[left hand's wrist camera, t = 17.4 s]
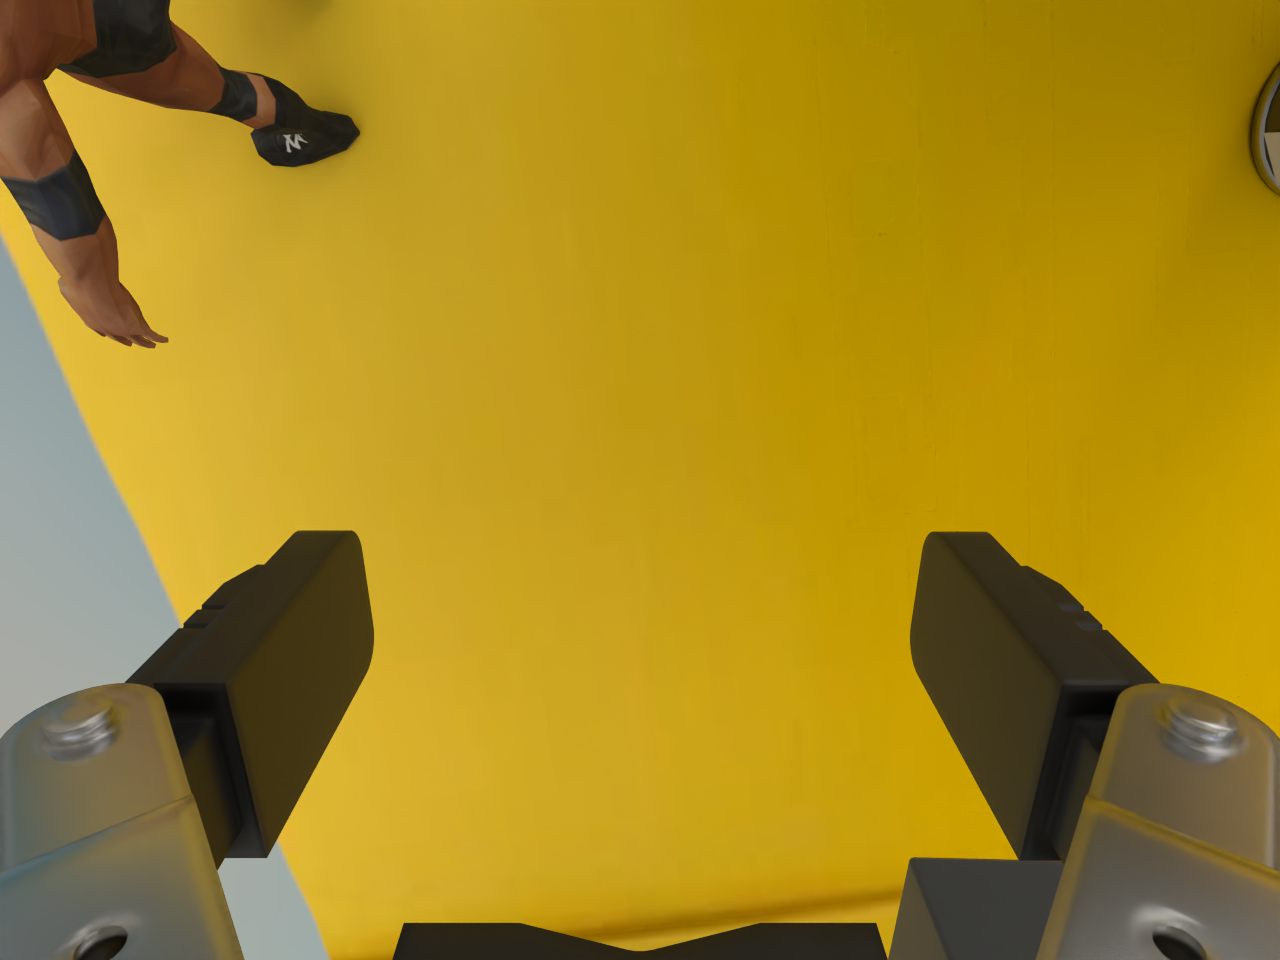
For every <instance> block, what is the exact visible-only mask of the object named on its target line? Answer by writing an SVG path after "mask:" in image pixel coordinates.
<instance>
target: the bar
mask: <svg viewBox="0 0 1280 960" xmlns="http://www.w3.org/2000/svg"><path fill="white" fill-rule="evenodd" d="M1064 866H1065V865H1064V864H1063V862H1062V861H1019V860H1003V859H961V858H918V857H914V858H911V859H910V860H909V865H908V869H907V874H906V879H905V883H904V888H903V893H902V897H901V902H900V907H899V911H898V916H897V921H896V925H895V930H894V935H893V939H892V944H891V949H890V953H889V958H888V960H1036V957H1037V954H1038V950H1039V947H1040V944H1041V941H1042V937H1043V934H1044V931H1045V928H1046V924H1047V921H1048V918H1049V915H1050V911H1051V908H1052V905H1053V901H1054V898H1055V895H1056V892H1057V888H1058V885H1059V882H1060V879H1061V875H1062V872H1063V869H1064Z"/></svg>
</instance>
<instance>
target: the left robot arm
mask: <svg viewBox="0 0 1280 960" xmlns="http://www.w3.org/2000/svg"><path fill="white" fill-rule="evenodd" d="M1251 141H1252V152H1253V157H1254V161H1255V165H1256V167H1257V169H1258V172H1259V174H1260V175H1261V177H1262V179H1263V180H1264V181H1265V183H1266V184H1267V185H1268V186H1269V187H1270V188H1271V189H1272V190H1273V191H1274V192H1276V193H1277V194H1278V195H1280V64H1279V66H1278V67H1277V68H1276V70H1275V71H1274V73H1273V74H1272V76H1271V77H1270V79H1269V81H1268V82H1267V84H1266V86H1265V88H1264V90H1263V92H1262V94H1261V97H1260V99H1259V102H1258V105H1257V108H1256V111H1255V115H1254V120H1253V126H1252V138H1251ZM373 645H374V628H373V620H372V613H371V607H370V600H369V593H368V587H367V580H366V573H365V566H364V560H363V553H362V547H361V543H360V540H359V538H358V536H357V534H356V533H355V532H354V531H297V532H295V533H294V534H293V535H292V536H291V537H290V538H289V539H288V540H287V541H286V542H285V543H284V544H283V546H282V547H281V548H280V549H279V550H278V551H277V552H276V553H275V554H274V555H273V556H272V557H271V558H270V559H269V560H268V561H267V562H266V564H265V565H256V566H254V567H252V568H250V569H249V570H247V571H245V572H243V573H241V574H240V575H238V576H236V577H234V578H232V579H231V580H229V581H227V582H225V583H224V584H223V585H222V586H221V587H220V588H219V589H218V590H217V591H216V592H215V593H214V594H213V595H212V596H211V597H210V598H209V599H208V600H207V601H206V602H205V603H204V604H203V605H202V609H201V610H197V611H196V612H195V613H194V614H193V615H192V616H191V617H190V618H189V619H188V620H187V621H186V622H185V623H184V627H183V628H179V629H178V630H177V631H176V632H175V633H174V634H173V635H172V636H171V637H170V638H169V639H168V640H167V641H166V642H165V643H164V644H163V645H162V646H161V647H160V648H159V649H158V650H157V651H156V652H155V653H154V654H153V655H152V656H151V657H150V658H149V659H148V660H147V661H146V662H145V663H144V664H143V665H142V666H141V667H140V668H139V669H138V670H137V671H136V672H135V673H134V674H133V675H132V676H131V677H130V678H129V679H128V680H127V681H126V682H125V683H117V684H108V685H102V686H97V687H92V688H88V689H84V690H81V691H77V692H75V693H71V694H69V695H66V696H63V697H61V698H58V699H56V700H54V701H51V702H49V703H47V704H45V705H44V706H42V707H40V708H38V709H36V710H34V711H33V712H31V713H29V714H28V715H26V716H25V717H23V718H22V719H21V720H19V721H18V722H17V723H15V724H14V725H13V726H12V727H11V728H10V729H9V730H8V731H7V732H6V733H5V734H4V735H3V736H2V738H1V739H0V960H244V957H243V954H242V950H241V947H240V944H239V941H238V937H237V934H236V931H235V928H234V924H233V921H232V918H231V915H230V911H229V908H228V905H227V901H226V898H225V895H224V892H223V888H222V885H221V882H220V879H219V875H218V872H217V870H218V869H219V867H220V865H221V864H222V862H223V860H224V859H225V858H267V857H268V855H269V853H270V851H271V849H272V848H273V846H274V844H275V842H276V840H277V838H278V836H279V835H280V833H281V831H282V829H283V827H284V825H285V823H286V822H287V820H288V818H289V816H290V814H291V812H292V810H293V809H294V807H295V805H296V803H297V801H298V799H299V797H300V796H301V794H302V792H303V790H304V788H305V786H306V784H307V783H308V781H309V779H310V777H311V775H312V773H313V771H314V770H315V768H316V766H317V764H318V762H319V760H320V759H321V757H322V755H323V753H324V751H325V749H326V747H327V746H328V744H329V742H330V740H331V738H332V736H333V734H334V733H335V731H336V729H337V727H338V725H339V723H340V721H341V720H342V718H343V716H344V714H345V712H346V710H347V708H348V707H349V705H350V703H351V701H352V699H353V697H354V695H355V694H356V692H357V690H358V688H359V686H360V684H361V683H362V681H363V679H364V677H365V675H366V673H367V671H368V669H369V666H370V663H371V659H372V654H373ZM910 646H911V655H912V660H913V664H914V667H915V670H916V672H917V674H918V676H919V678H920V680H921V682H922V684H923V685H924V687H925V689H926V691H927V693H928V695H929V696H930V698H931V700H932V702H933V704H934V706H935V707H936V709H937V711H938V713H939V715H940V717H941V718H942V720H943V722H944V724H945V726H946V728H947V729H948V731H949V733H950V735H951V737H952V739H953V740H954V742H955V744H956V746H957V748H958V749H959V751H960V753H961V755H962V757H963V759H964V760H965V762H966V764H967V766H968V768H969V770H970V771H971V773H972V775H973V777H974V779H975V781H976V782H977V784H978V786H979V788H980V790H981V792H982V793H983V795H984V797H985V799H986V801H987V803H988V804H989V806H990V808H991V810H992V812H993V814H994V815H995V817H996V819H997V821H998V823H999V825H1000V826H1001V828H1002V830H1003V832H1004V834H1005V836H1006V837H1007V839H1008V841H1009V843H1010V845H1011V847H1012V848H1013V850H1014V852H1015V854H1016V856H1017V858H1018V859H1019V861H1062V862H1063V864H1064V865H1065V866H1064V869H1063V872H1062V875H1061V879H1060V882H1059V885H1058V888H1057V892H1056V895H1055V898H1054V901H1053V905H1052V908H1051V911H1050V915H1049V918H1048V921H1047V924H1046V928H1045V931H1044V934H1043V937H1042V941H1041V944H1040V947H1039V950H1038V954H1037V957H1036V960H1280V739H1279V738H1278V736H1277V735H1276V734H1275V733H1274V732H1273V731H1272V730H1271V729H1270V728H1269V727H1268V726H1267V725H1266V724H1265V723H1263V722H1262V721H1261V720H1259V719H1258V718H1257V717H1255V716H1254V715H1252V714H1251V713H1249V712H1247V711H1246V710H1244V709H1242V708H1240V707H1238V706H1237V705H1235V704H1233V703H1231V702H1229V701H1226V700H1224V699H1222V698H1219V697H1217V696H1214V695H1211V694H1209V693H1206V692H1203V691H1199V690H1196V689H1192V688H1188V687H1183V686H1178V685H1172V684H1163V683H1160V682H1159V681H1158V680H1157V679H1156V678H1155V677H1154V676H1153V675H1152V674H1151V673H1150V672H1149V671H1148V670H1147V669H1146V668H1145V667H1144V666H1143V665H1142V664H1141V663H1140V662H1139V661H1138V660H1137V659H1136V658H1135V657H1134V656H1133V655H1132V654H1131V653H1130V652H1129V651H1128V650H1127V649H1126V648H1125V647H1124V646H1123V645H1122V644H1121V643H1120V642H1119V641H1118V640H1117V639H1116V638H1115V637H1114V636H1113V635H1112V634H1111V633H1110V632H1109V631H1108V630H1103V629H1102V624H1101V623H1100V622H1099V621H1098V620H1096V619H1095V618H1094V617H1093V616H1092V615H1091V614H1090V613H1089V612H1088V611H1084V607H1083V606H1082V605H1081V604H1080V603H1079V602H1078V601H1077V600H1076V599H1075V598H1074V597H1073V596H1072V595H1071V594H1070V593H1069V592H1068V591H1067V590H1066V589H1065V588H1064V587H1063V586H1062V585H1061V584H1059V583H1057V582H1056V581H1054V580H1052V579H1050V578H1048V577H1047V576H1045V575H1043V574H1041V573H1039V572H1038V571H1036V570H1034V569H1032V568H1030V567H1028V566H1020V565H1019V564H1018V563H1017V562H1016V560H1015V559H1014V558H1013V557H1012V556H1011V555H1010V554H1009V553H1008V552H1007V551H1006V550H1005V549H1004V548H1003V547H1002V546H1001V545H1000V544H999V543H998V542H997V541H996V539H995V538H994V537H993V536H992V535H991V534H989V533H988V532H931V533H930V534H929V535H928V536H927V537H926V540H925V542H924V545H923V550H922V556H921V562H920V569H919V576H918V582H917V589H916V596H915V602H914V609H913V615H912V622H911V630H910ZM393 960H887V956H886V953H885V950H884V947H883V943H882V940H881V937H880V934H879V931H878V927H877V924H876V923H758V924H754V925H750V926H746V927H742V928H738V929H734V930H730V931H726V932H722V933H718V934H714V935H710V936H706V937H702V938H698V939H694V940H690V941H686V942H682V943H678V944H674V945H670V946H666V947H662V948H658V949H655V950H649V951H631V950H625V949H622V948H618V947H614V946H610V945H606V944H602V943H598V942H594V941H590V940H586V939H582V938H578V937H574V936H570V935H566V934H562V933H558V932H554V931H550V930H546V929H542V928H538V927H534V926H530V925H526V924H522V923H404V924H403V927H402V931H401V934H400V937H399V940H398V943H397V947H396V950H395V953H394V956H393Z"/></svg>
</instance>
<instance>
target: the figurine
mask: <svg viewBox="0 0 1280 960" xmlns="http://www.w3.org/2000/svg"><path fill="white" fill-rule="evenodd" d="M169 5H170V0H0V178H1V179H2V181H3V182H4V184H5V185H6V186H7V188H8V189H9V191H10V192H11V194H12V195H13V197H14V199H15V200H16V202H17V203H18V205H19V207H20V208H21V210H22V211H23V213H24V215H25V216H26V218H27V220H28V222H29V224H30V225H31V227H32V230H33V232H34V235H35V237H36V240H37V242H38V243H39V245H40V247H41V248H42V250H43V251H44V253H45V255H46V256H47V258H48V259H49V261H50V262H51V263H52V265H53V266H54V268H55V269H56V270H57V272H58V273H59V275H60V276H61V278H60V279H59V280H58V284H59V288H60V292H61V294H62V295H63V296H64V298H65V299H66V300H67V302H68V303H69V304H70V306H71V307H72V308H73V309H74V311H75V312H76V313H77V314H78V315H79V316H80V317H81V319H82V320H83V321H84V323H85V324H86V326H88V327H89V328H91V329H92V330H94V331H95V332H97V333H98V334H100V335H101V336H104V337H105V336H106V335H107V336H108V337H109V338H111V339H113V340H115V341H118V342H120V343H122V344H124V345H127V346H130V347H131V345H132V343H135V344H137V345H139V346H143V347H147V348H155V346H156V344H155V343H153V342H151V341H150V340H152V341H155V342H160V343H166V342H168V338H167V337H164V336H161V335H159V334H157V333H156V332H154V331H152V330H151V329H150V327H149V326H148V324H147V322H146V321H145V319H144V317H143V315H142V313H141V310H140V308H139V306H138V304H137V303H136V301H135V300H134V298H133V297H132V295H131V294H130V293H129V291H128V290H127V289H126V288H125V287H124V286H123V285H122V284H121V283H120V282H119V271H118V251H117V240H116V236H115V233H114V230H113V227H112V223H111V221H110V219H109V218H108V216H107V214H106V212H105V210H104V208H103V206H102V205H101V203H100V201H99V199H98V197H97V195H96V192H95V190H94V187H93V184H92V182H91V179H90V176H89V174H88V171H87V169H86V167H85V165H84V164H83V162H82V160H81V158H80V156H79V155H78V153H77V151H76V149H75V147H74V145H73V143H72V140H71V138H70V136H69V134H68V131H67V129H66V127H65V125H64V123H63V121H62V119H61V117H60V115H59V113H58V111H57V109H56V107H55V105H54V103H53V101H52V99H51V97H50V95H49V93H48V91H47V89H46V86H45V84H44V82H43V80H45V79H47V78H48V77H49V76H50V74H51V73H52V72H53V71H54V70H55V68H57V69H59V70H61V71H63V72H65V73H66V74H68V75H70V76H71V77H73V78H75V79H77V80H79V81H81V82H83V83H86V84H89V85H92V86H94V87H97V88H100V89H103V90H106V91H109V92H112V93H115V94H119V95H123V96H126V97H130V98H133V99H137V100H140V101H144V102H147V103H151V104H154V105H158V106H161V107H165V108H171V109H182V110H193V111H200V112H207V113H213V114H217V115H221V116H226V117H229V118H232V119H234V120H236V121H238V122H241V123H243V124H245V125H248V126H250V127H252V128H254V130H253V132H252V133H250V134H251V137H252V139H253V142H254V144H255V147H256V149H257V152H258V154H259V155H260V156H261V157H262V158H264V159H265V160H266V161H267V162H269V163H270V164H271V165H274V166H287V167H297V166H302V165H306V164H311V163H314V162H317V161H319V160H322V159H324V158H327V157H329V156H332V155H334V154H337V153H339V152H342V151H345V150H347V149H349V148H350V147H351V145H352V144H353V143H354V141H355V140H356V139H357V137H358V136H359V135H360V131H359V130H358V129H357V127H356V126H355V125H354V123H353V121H352V119H351V118H350V117H349V116H347V115H342V114H337V113H332V112H327V111H319V110H316V109H313V108H311V107H309V106H307V105H306V103H305V102H304V101H303V100H302V99H301V98H300V96H299V95H298V94H297V93H295V92H294V91H292V90H291V89H290V88H288V87H287V86H285V85H284V84H282V83H281V82H279V81H277V80H275V79H272V78H269V77H267V76H264V75H261V74H257V73H250V72H243V71H235V70H227V69H225V68H223V67H221V66H220V65H219V64H218V63H217V62H216V61H215V60H214V59H213V58H212V57H211V56H210V55H209V54H208V53H207V52H206V51H205V50H204V49H203V48H202V47H201V46H200V45H199V44H198V43H197V42H196V41H195V40H194V39H193V38H192V37H191V36H190V35H188V34H187V33H186V32H184V31H183V30H182V29H180V28H179V27H178V26H177V25H175V24H174V23H173V22H172V21H171V20H170V17H169ZM143 336H144V337H146V338H147V339H145V338H144V337H143ZM148 339H149V340H148Z"/></svg>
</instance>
